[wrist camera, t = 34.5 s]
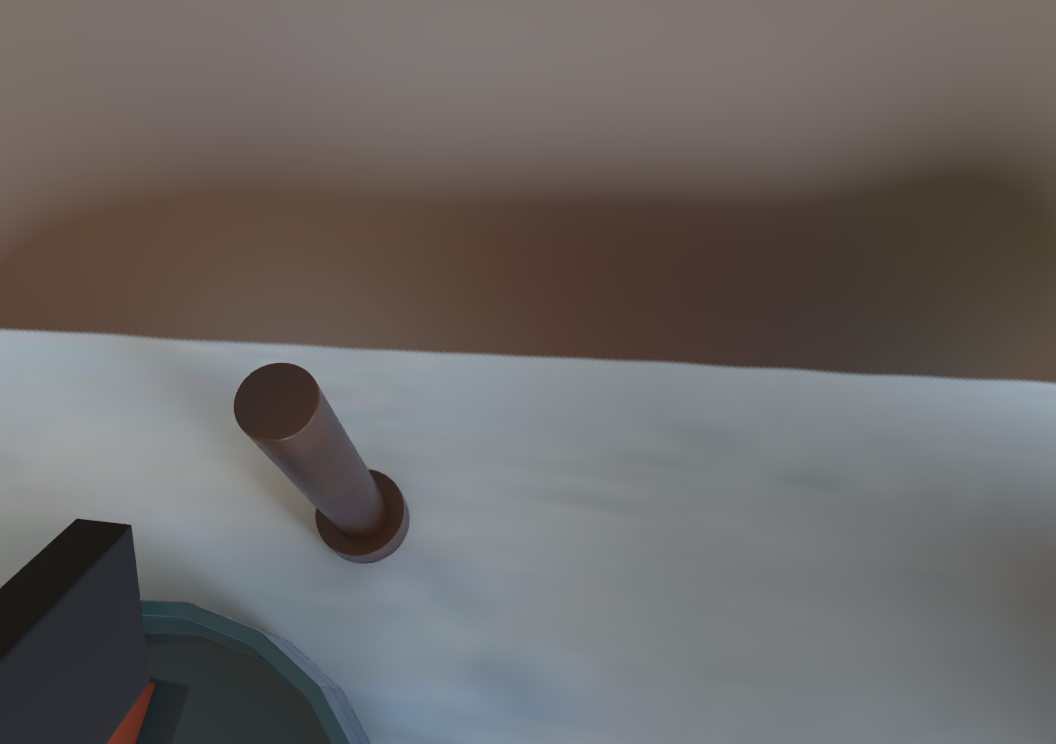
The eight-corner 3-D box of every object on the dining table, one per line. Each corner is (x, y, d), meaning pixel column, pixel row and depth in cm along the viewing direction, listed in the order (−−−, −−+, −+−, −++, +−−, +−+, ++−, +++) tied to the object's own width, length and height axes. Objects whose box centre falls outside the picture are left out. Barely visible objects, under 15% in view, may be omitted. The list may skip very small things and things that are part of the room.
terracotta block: (122, 785, 33) (73, 794, 29) (30, 765, 33) (-30, 772, 30) (156, 682, 35) (114, 679, 31) (68, 665, 35) (16, 659, 31)
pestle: (426, 523, 38) (372, 403, 24) (360, 581, 37) (261, 495, 22) (373, 463, 39) (290, 314, 25) (307, 519, 38) (179, 397, 23)
